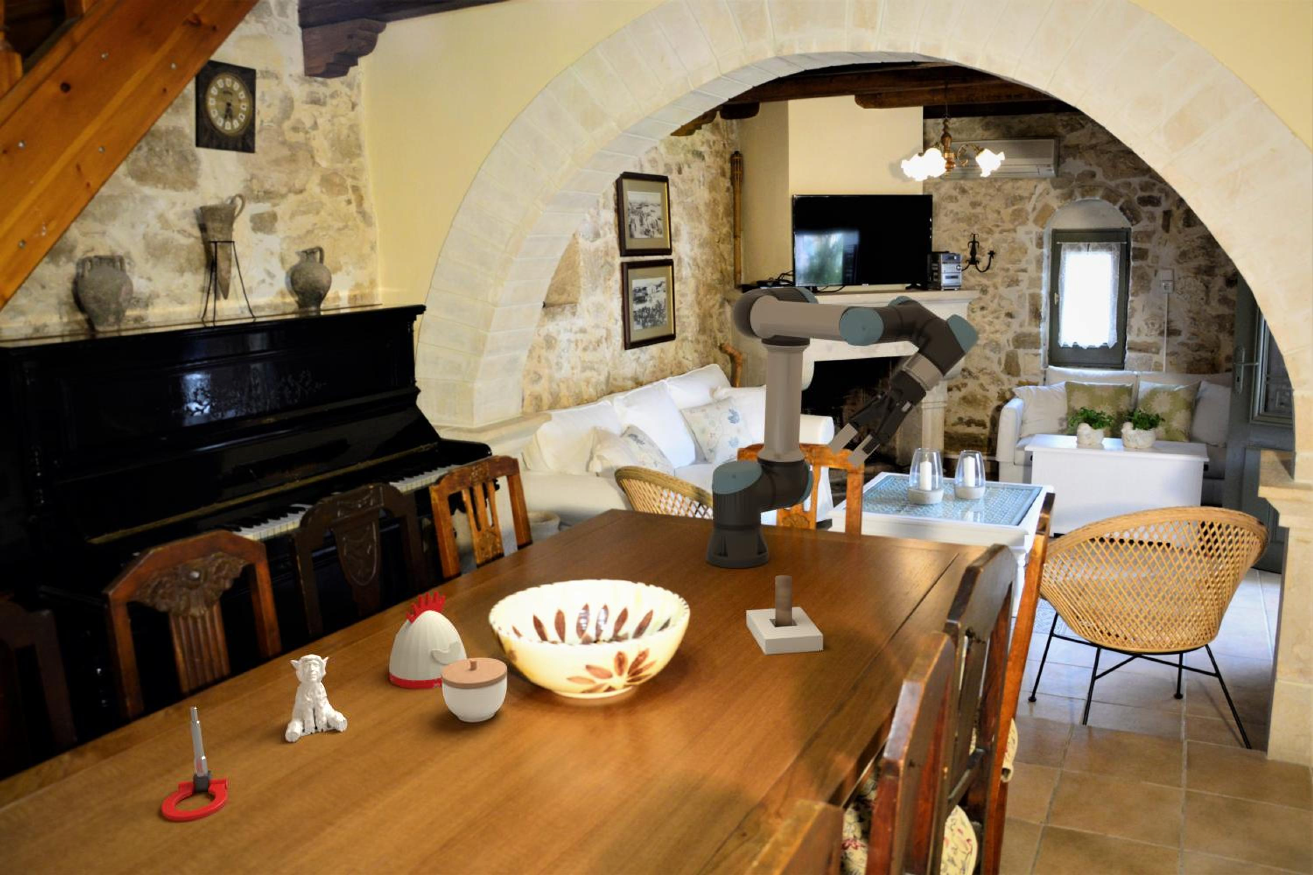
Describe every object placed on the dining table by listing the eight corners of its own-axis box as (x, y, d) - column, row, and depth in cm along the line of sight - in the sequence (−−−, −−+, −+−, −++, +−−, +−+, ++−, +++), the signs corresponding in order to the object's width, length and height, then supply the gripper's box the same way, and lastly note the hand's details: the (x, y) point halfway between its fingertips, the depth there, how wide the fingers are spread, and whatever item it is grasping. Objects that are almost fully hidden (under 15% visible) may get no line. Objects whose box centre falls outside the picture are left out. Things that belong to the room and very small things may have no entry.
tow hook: (219, 821, 144) (236, 784, 153) (208, 734, 141) (226, 702, 150) (154, 827, 143) (175, 789, 152) (141, 740, 140) (163, 707, 149)
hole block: (746, 624, 213) (746, 610, 212) (800, 620, 214) (800, 606, 214) (765, 654, 197) (765, 639, 197) (822, 650, 198) (822, 635, 198)
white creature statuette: (286, 744, 165) (280, 671, 163) (278, 723, 173) (272, 653, 171) (348, 730, 170) (342, 659, 168) (337, 710, 177) (332, 642, 175)
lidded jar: (520, 704, 178) (517, 651, 176) (490, 732, 168) (487, 676, 166) (463, 697, 181) (460, 645, 180) (430, 723, 171) (427, 668, 170)
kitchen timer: (483, 671, 192) (479, 592, 190) (419, 695, 182) (413, 612, 180) (437, 652, 202) (433, 577, 199) (374, 675, 192) (368, 595, 189)
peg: (773, 634, 207) (773, 575, 205) (789, 633, 207) (789, 574, 205) (777, 640, 204) (777, 580, 202) (793, 639, 204) (794, 579, 202)
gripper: (951, 402, 203) (873, 482, 204) (904, 385, 227) (835, 456, 228) (925, 375, 201) (847, 456, 202) (881, 361, 226) (811, 433, 226)
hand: (840, 456), depth 215 cm, fingers open, 13 cm apart
